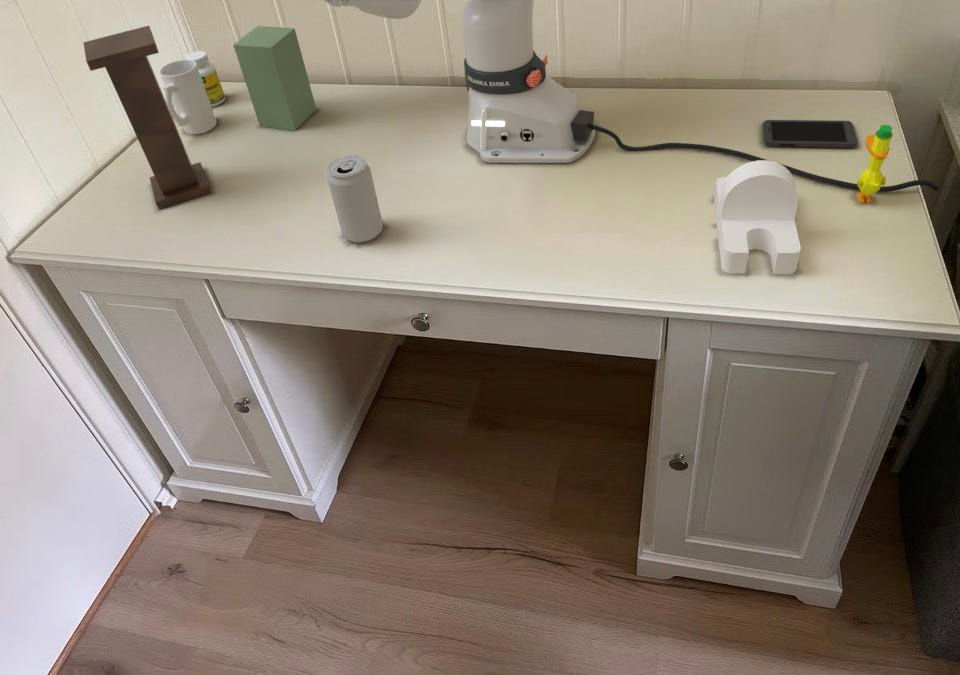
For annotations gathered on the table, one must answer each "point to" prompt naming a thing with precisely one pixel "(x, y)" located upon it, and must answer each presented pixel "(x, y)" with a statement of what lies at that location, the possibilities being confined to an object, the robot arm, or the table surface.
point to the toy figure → (874, 163)
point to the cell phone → (809, 133)
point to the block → (275, 77)
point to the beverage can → (355, 198)
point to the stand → (148, 114)
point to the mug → (187, 96)
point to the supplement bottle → (208, 77)
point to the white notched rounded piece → (757, 216)
